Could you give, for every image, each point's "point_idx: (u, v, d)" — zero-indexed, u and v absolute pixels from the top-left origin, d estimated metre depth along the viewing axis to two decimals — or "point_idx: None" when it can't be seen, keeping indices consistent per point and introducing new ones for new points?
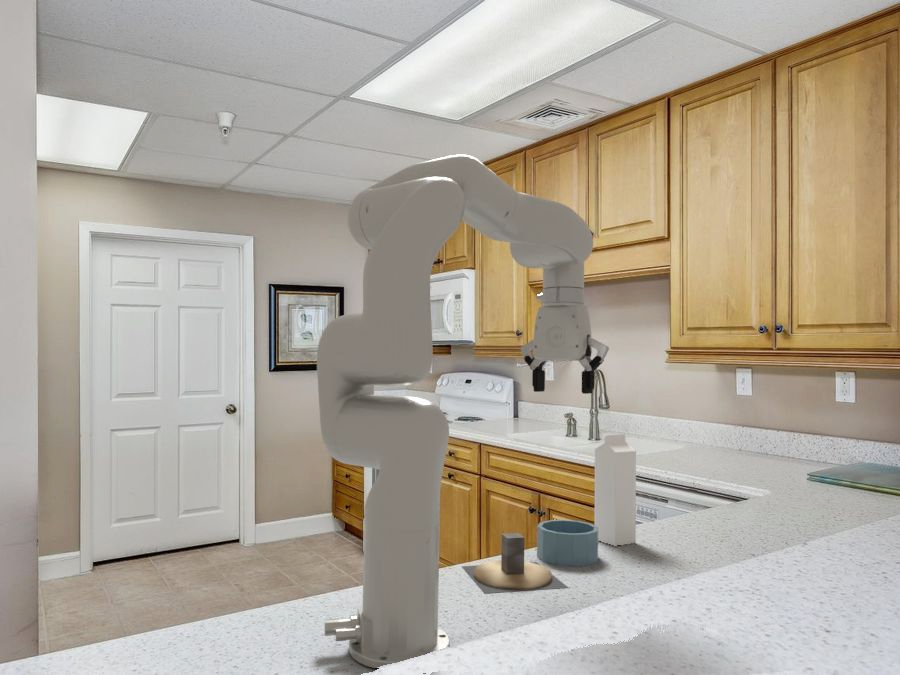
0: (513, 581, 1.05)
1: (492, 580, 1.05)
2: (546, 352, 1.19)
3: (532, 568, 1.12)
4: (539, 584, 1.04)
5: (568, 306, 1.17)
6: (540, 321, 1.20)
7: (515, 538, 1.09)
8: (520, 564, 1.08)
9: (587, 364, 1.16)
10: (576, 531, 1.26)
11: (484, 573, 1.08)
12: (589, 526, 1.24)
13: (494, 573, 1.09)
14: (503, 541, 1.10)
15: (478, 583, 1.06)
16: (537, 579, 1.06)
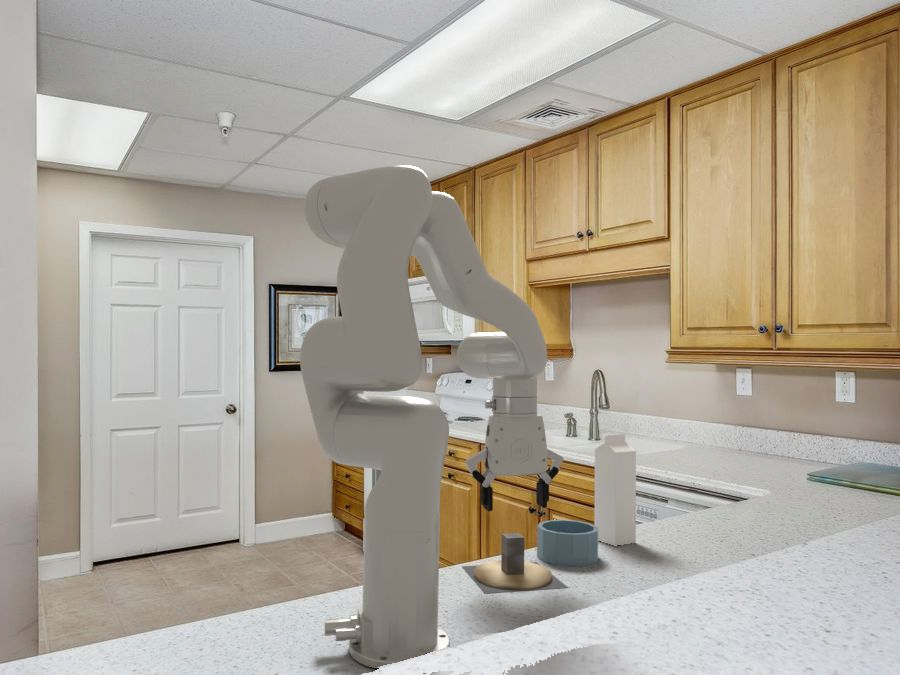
0: (513, 581, 1.05)
1: (492, 580, 1.05)
2: (509, 468, 1.08)
3: (532, 568, 1.12)
4: (539, 584, 1.04)
5: (532, 417, 1.09)
6: (501, 433, 1.08)
7: (515, 538, 1.09)
8: (520, 564, 1.08)
9: (547, 477, 1.11)
10: (576, 531, 1.26)
11: (484, 573, 1.08)
12: (589, 526, 1.24)
13: (494, 573, 1.09)
14: (503, 541, 1.10)
15: (478, 583, 1.06)
16: (537, 579, 1.06)
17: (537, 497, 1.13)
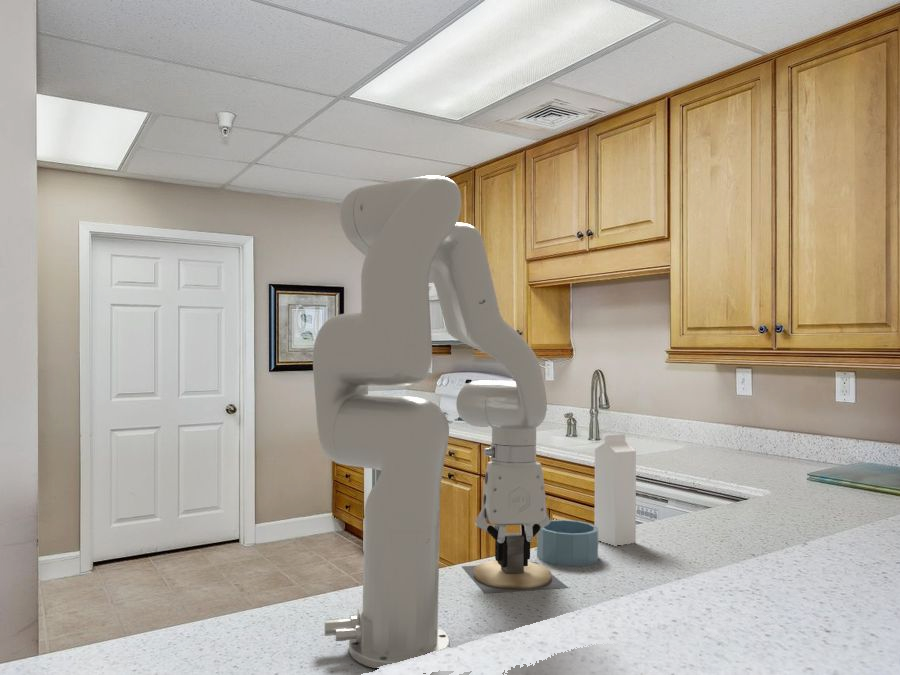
0: (513, 581, 1.05)
1: (492, 579, 1.05)
2: (507, 517, 1.07)
3: (532, 567, 1.12)
4: (539, 583, 1.04)
5: (531, 466, 1.09)
6: (499, 482, 1.07)
7: (515, 538, 1.09)
8: (520, 564, 1.09)
9: (531, 534, 1.09)
10: (576, 531, 1.26)
11: (484, 572, 1.09)
12: (589, 526, 1.24)
13: (493, 572, 1.09)
14: None
15: (478, 583, 1.06)
16: (537, 579, 1.06)
17: None
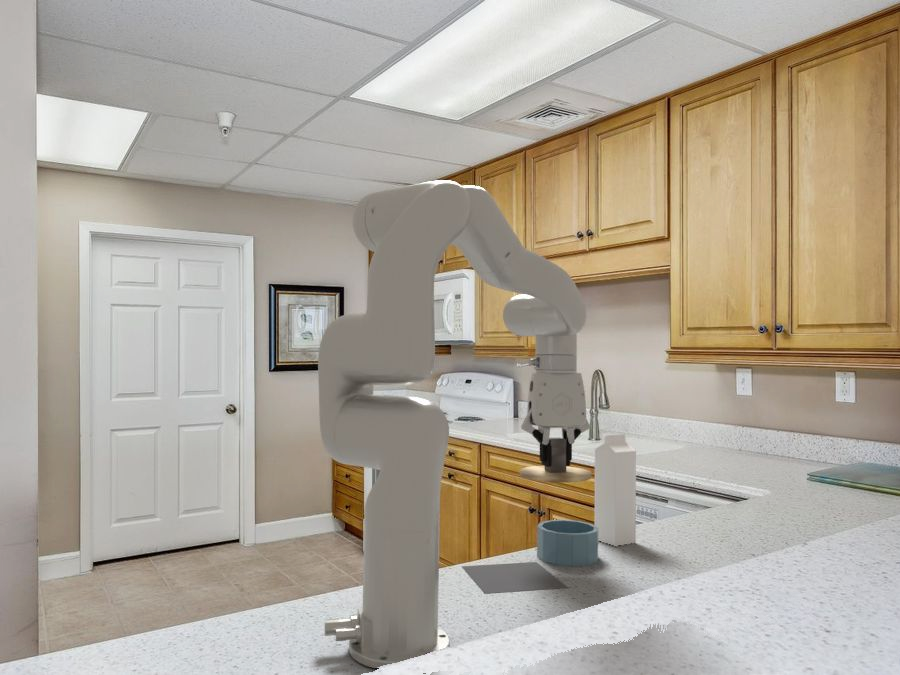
0: (558, 476, 1.15)
1: (538, 475, 1.15)
2: (552, 420, 1.17)
3: (572, 469, 1.22)
4: (581, 478, 1.14)
5: (573, 374, 1.18)
6: (544, 388, 1.17)
7: (558, 440, 1.18)
8: (562, 463, 1.18)
9: (572, 437, 1.19)
10: (576, 531, 1.26)
11: (530, 472, 1.18)
12: (589, 526, 1.24)
13: (538, 472, 1.19)
14: None
15: (478, 583, 1.06)
16: (579, 475, 1.16)
17: None
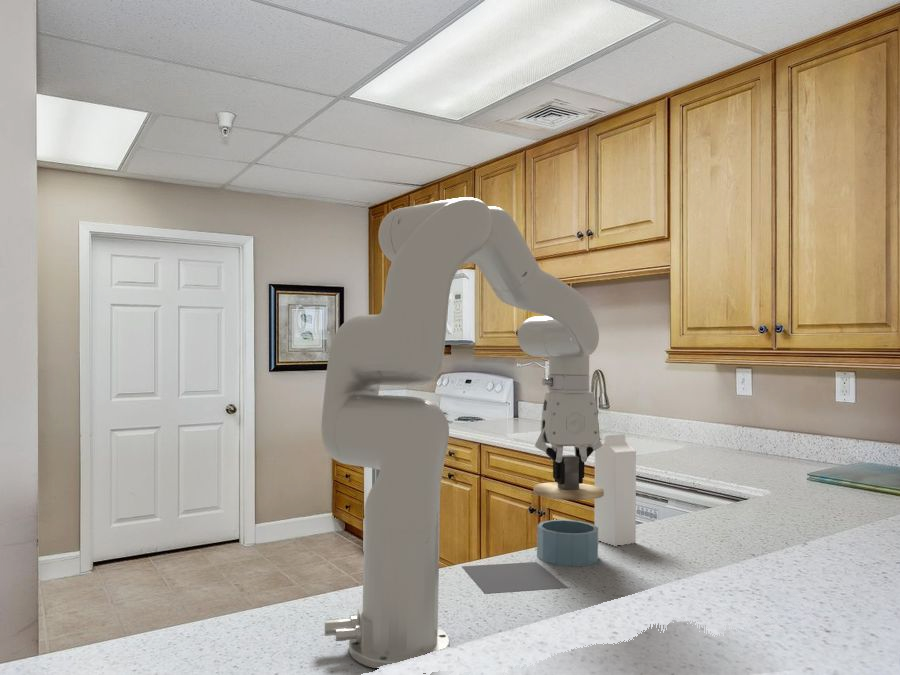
0: (571, 493, 1.17)
1: (552, 493, 1.18)
2: (565, 438, 1.20)
3: (585, 486, 1.25)
4: (594, 496, 1.17)
5: (586, 393, 1.21)
6: (558, 407, 1.20)
7: (571, 457, 1.21)
8: (575, 481, 1.21)
9: (585, 455, 1.22)
10: (576, 531, 1.26)
11: (544, 489, 1.21)
12: (589, 526, 1.24)
13: (552, 489, 1.22)
14: None
15: (478, 583, 1.06)
16: (592, 492, 1.19)
17: None
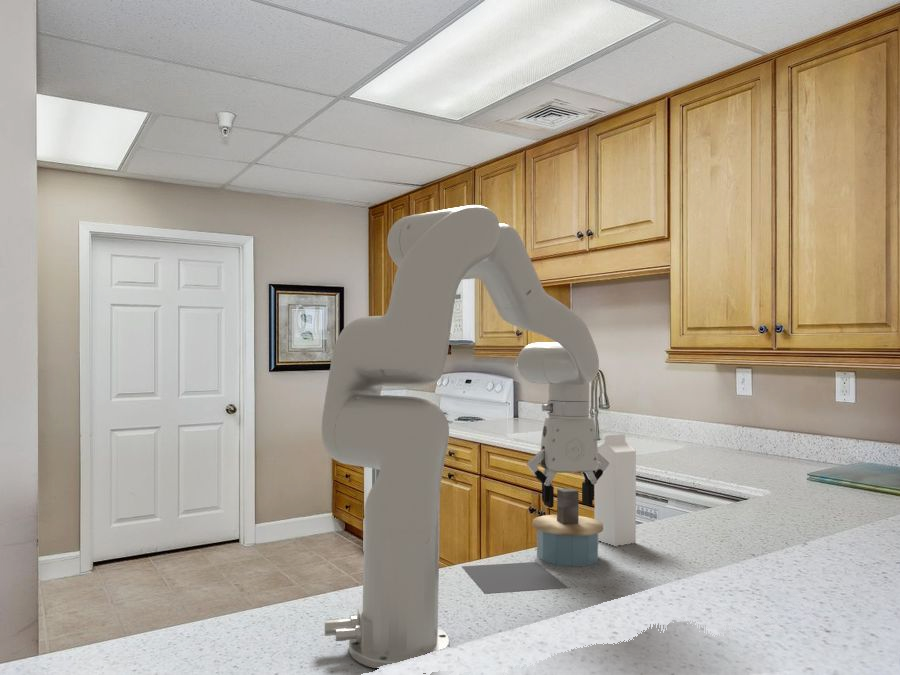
0: (570, 529, 1.17)
1: (551, 528, 1.17)
2: (565, 465, 1.19)
3: (584, 520, 1.24)
4: (593, 531, 1.17)
5: (585, 419, 1.21)
6: (557, 434, 1.19)
7: (570, 492, 1.21)
8: (575, 515, 1.21)
9: (594, 478, 1.22)
10: None
11: (543, 523, 1.21)
12: None
13: (551, 523, 1.21)
14: (559, 495, 1.22)
15: (478, 583, 1.06)
16: (591, 527, 1.18)
17: (583, 496, 1.24)
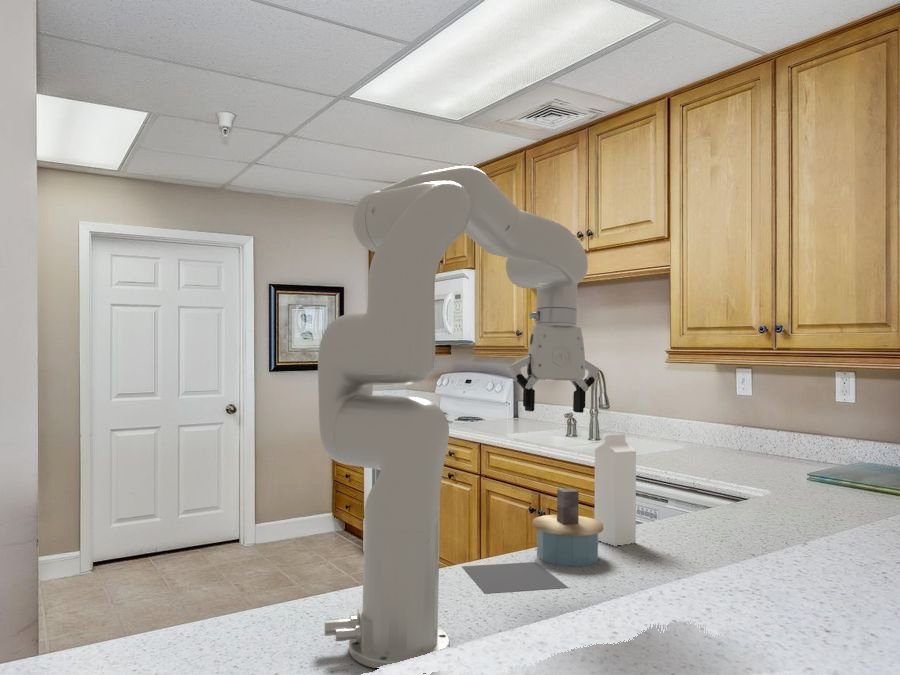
0: (570, 529, 1.17)
1: (551, 528, 1.17)
2: (551, 371, 1.18)
3: (584, 520, 1.24)
4: (593, 531, 1.17)
5: (573, 328, 1.20)
6: (544, 340, 1.18)
7: (570, 492, 1.21)
8: (575, 515, 1.21)
9: (584, 384, 1.21)
10: None
11: (543, 523, 1.21)
12: None
13: (551, 523, 1.21)
14: (559, 495, 1.22)
15: (478, 583, 1.06)
16: (591, 527, 1.18)
17: (574, 405, 1.23)
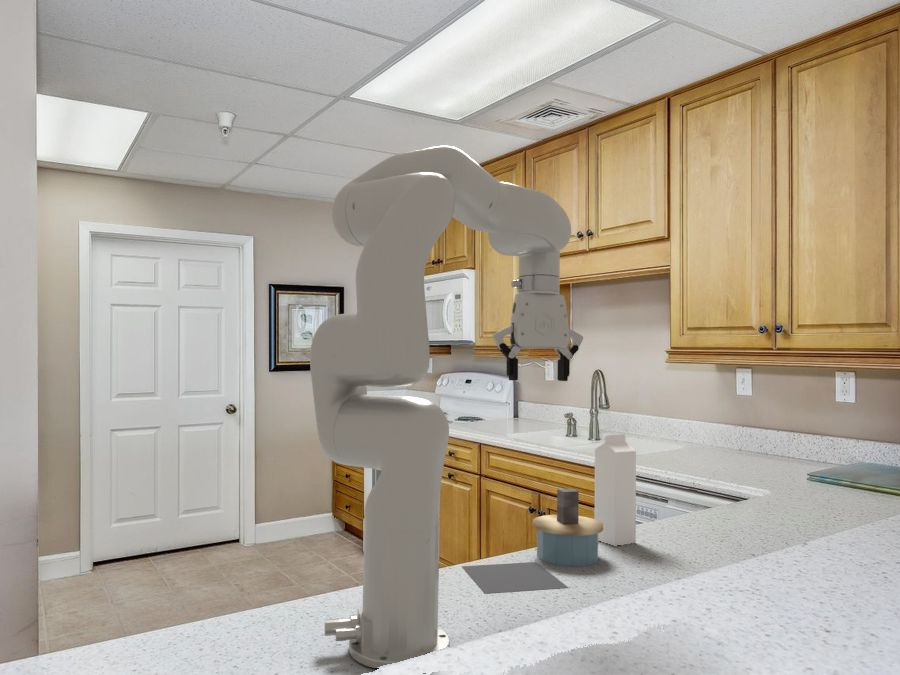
0: (570, 529, 1.17)
1: (551, 528, 1.17)
2: (534, 340, 1.17)
3: (584, 520, 1.24)
4: (593, 531, 1.17)
5: (555, 295, 1.18)
6: (526, 308, 1.17)
7: (570, 492, 1.21)
8: (575, 515, 1.21)
9: (568, 352, 1.20)
10: None
11: (543, 523, 1.21)
12: None
13: (551, 523, 1.21)
14: (559, 495, 1.22)
15: (478, 583, 1.06)
16: (591, 527, 1.18)
17: (558, 373, 1.22)
